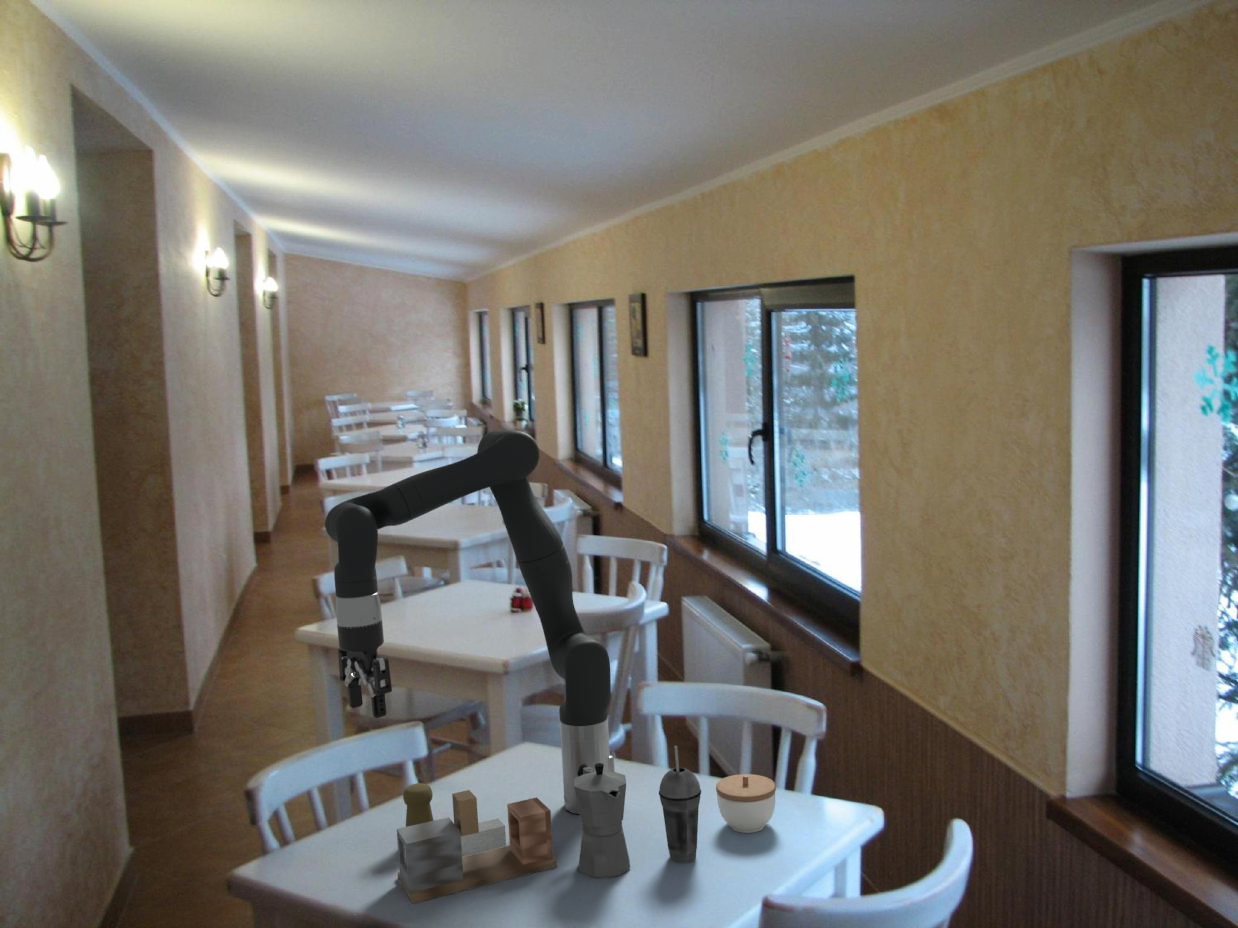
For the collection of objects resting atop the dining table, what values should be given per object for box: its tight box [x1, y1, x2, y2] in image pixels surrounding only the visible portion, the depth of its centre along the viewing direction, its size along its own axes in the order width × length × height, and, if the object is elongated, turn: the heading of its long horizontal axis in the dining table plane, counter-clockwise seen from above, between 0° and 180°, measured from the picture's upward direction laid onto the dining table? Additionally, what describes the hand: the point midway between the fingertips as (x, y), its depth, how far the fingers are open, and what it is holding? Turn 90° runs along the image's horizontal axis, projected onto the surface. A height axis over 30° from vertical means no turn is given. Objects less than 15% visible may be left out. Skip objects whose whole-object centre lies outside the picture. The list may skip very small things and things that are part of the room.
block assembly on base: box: [396, 796, 558, 904], centre depth 188 cm, size 25×10×9 cm, turn 115°
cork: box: [402, 782, 435, 827], centre depth 200 cm, size 6×6×11 cm
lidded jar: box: [715, 773, 777, 834], centre depth 201 cm, size 11×11×9 cm
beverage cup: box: [658, 745, 702, 864], centre depth 189 cm, size 7×7×20 cm
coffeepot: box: [574, 763, 631, 879], centre depth 188 cm, size 15×9×18 cm, turn 25°
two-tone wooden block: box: [403, 789, 507, 865], centre depth 186 cm, size 17×4×10 cm, turn 115°
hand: (367, 711), depth 191 cm, fingers open, 8 cm apart
